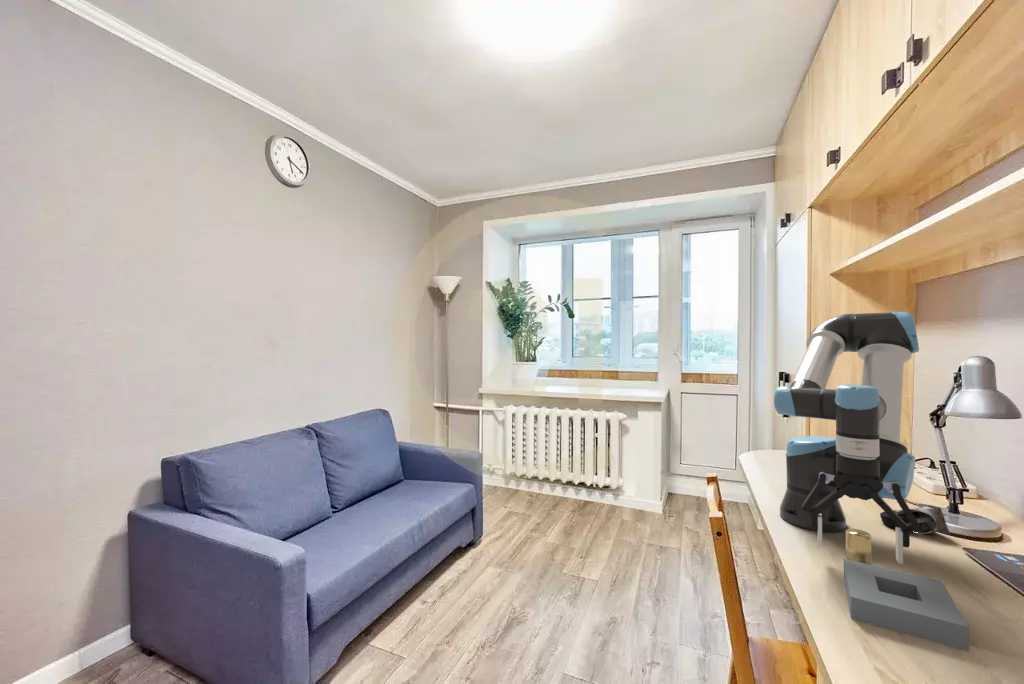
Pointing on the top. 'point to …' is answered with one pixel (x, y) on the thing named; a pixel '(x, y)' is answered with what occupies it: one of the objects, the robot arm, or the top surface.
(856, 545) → the gold metal cylinder
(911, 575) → the jig
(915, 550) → the top surface
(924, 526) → the caster wheel
